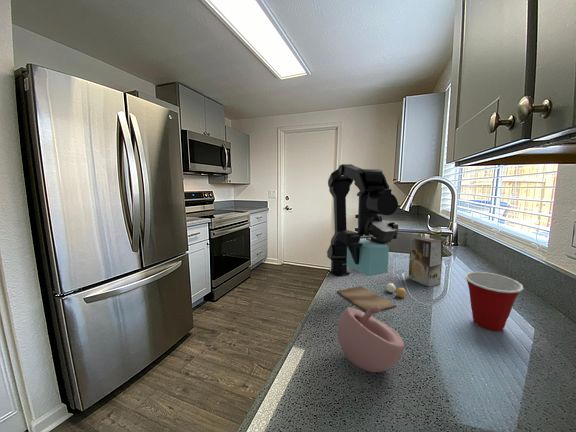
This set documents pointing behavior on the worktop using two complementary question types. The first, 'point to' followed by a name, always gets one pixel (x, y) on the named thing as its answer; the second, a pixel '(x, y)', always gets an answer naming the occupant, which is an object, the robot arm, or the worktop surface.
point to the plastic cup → (491, 298)
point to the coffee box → (425, 260)
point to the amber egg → (401, 292)
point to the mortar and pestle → (368, 340)
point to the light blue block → (370, 258)
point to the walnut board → (365, 298)
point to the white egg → (390, 287)
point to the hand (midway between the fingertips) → (366, 262)
